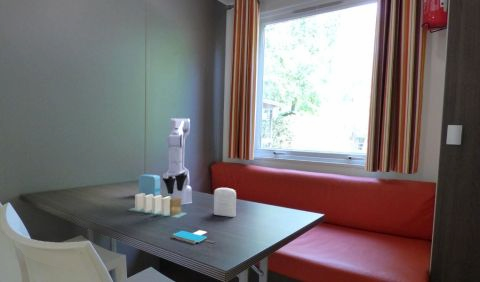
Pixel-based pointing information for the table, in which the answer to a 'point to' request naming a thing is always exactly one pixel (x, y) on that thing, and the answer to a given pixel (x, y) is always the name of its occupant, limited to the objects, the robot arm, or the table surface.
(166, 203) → the cream domino
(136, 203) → the cream domino
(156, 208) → the cream domino
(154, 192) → the data package
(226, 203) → the photo printer
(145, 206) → the cream domino
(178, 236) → the phone stand
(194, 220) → the table surface
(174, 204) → the ochre domino
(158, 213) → the teal mat
